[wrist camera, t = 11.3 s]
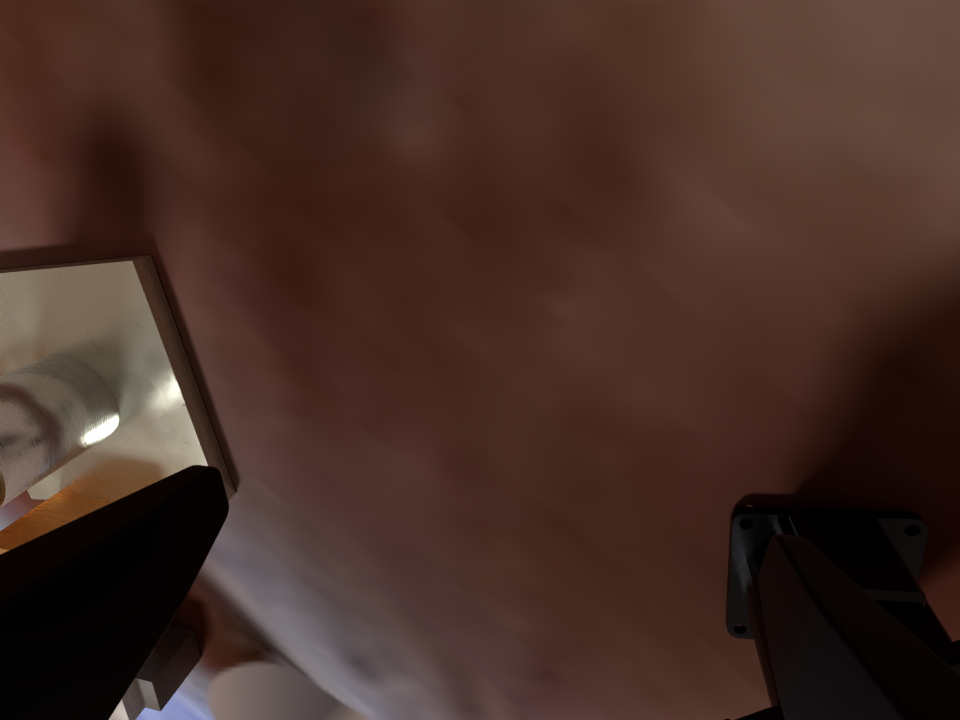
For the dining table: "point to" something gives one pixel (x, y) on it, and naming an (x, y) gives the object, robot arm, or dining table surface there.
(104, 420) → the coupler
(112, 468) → the stand
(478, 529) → the dining table surface
